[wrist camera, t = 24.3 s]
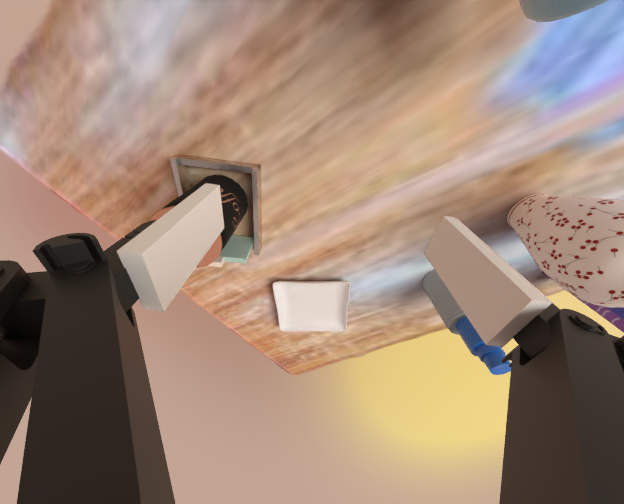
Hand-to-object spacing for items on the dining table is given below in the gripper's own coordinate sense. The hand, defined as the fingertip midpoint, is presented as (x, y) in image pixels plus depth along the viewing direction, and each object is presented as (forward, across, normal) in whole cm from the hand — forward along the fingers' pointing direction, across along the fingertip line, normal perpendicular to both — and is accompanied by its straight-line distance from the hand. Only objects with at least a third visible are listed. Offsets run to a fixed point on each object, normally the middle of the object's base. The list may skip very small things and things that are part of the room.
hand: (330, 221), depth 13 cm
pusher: (+33, -19, -24) cm, 46 cm away
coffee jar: (+34, -19, -15) cm, 42 cm away
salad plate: (+34, +4, -44) cm, 56 cm away
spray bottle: (+35, +38, -31) cm, 60 cm away
